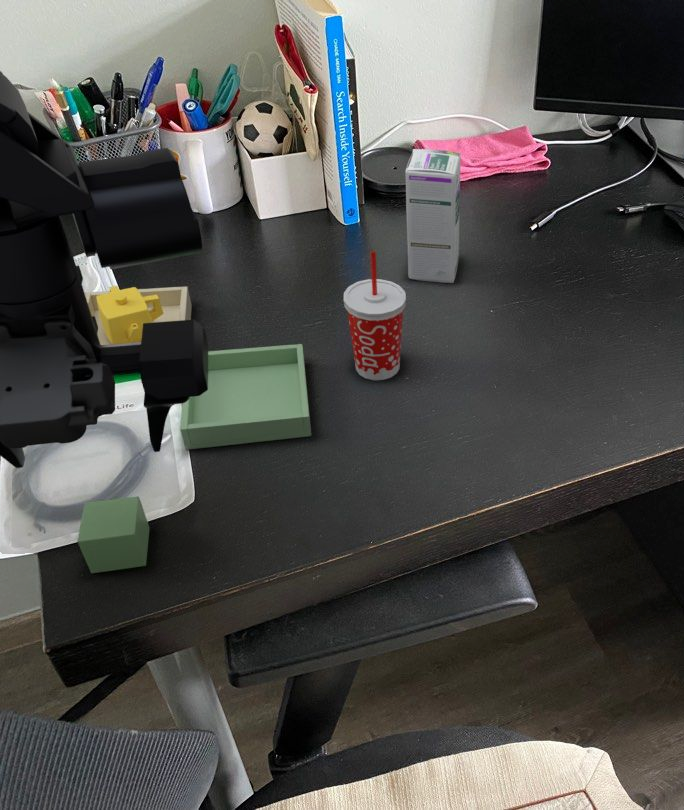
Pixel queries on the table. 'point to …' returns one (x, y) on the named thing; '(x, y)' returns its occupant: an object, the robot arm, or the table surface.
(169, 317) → the cream tray
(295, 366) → the green tray
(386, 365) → the beverage cup
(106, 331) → the yellow linking cube
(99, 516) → the green cube
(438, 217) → the syrup box
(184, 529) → the table surface
